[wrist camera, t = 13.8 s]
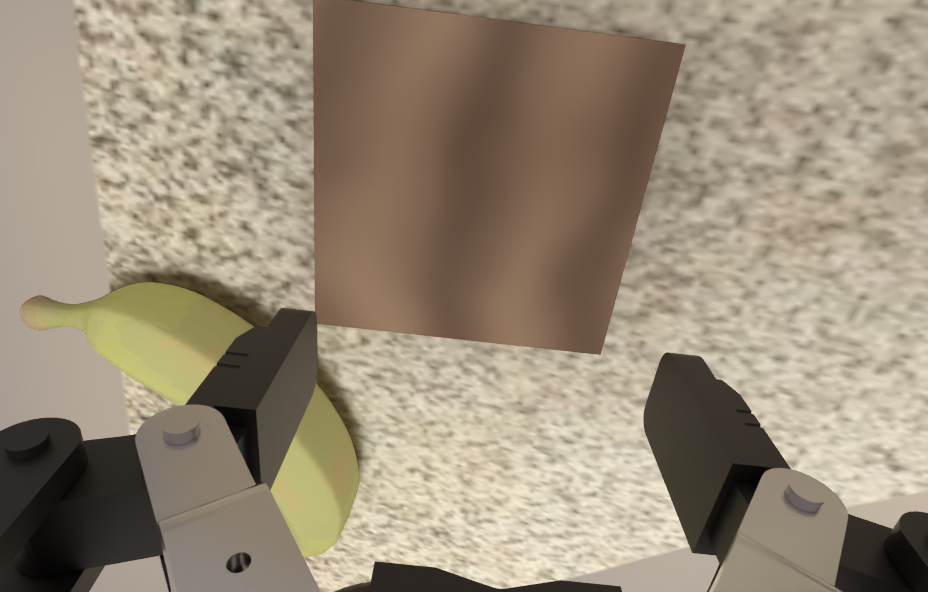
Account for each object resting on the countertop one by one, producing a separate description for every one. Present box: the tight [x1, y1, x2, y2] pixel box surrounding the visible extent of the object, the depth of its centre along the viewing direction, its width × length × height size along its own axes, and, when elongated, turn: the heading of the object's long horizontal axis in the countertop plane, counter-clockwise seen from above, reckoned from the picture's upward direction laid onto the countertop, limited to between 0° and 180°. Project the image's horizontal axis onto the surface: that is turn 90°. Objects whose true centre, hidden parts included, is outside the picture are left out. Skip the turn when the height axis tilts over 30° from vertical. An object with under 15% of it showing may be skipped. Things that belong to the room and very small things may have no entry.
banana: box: [20, 282, 359, 557], centre depth 30 cm, size 14×6×20 cm
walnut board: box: [313, 0, 685, 355], centre depth 25 cm, size 14×14×2 cm
